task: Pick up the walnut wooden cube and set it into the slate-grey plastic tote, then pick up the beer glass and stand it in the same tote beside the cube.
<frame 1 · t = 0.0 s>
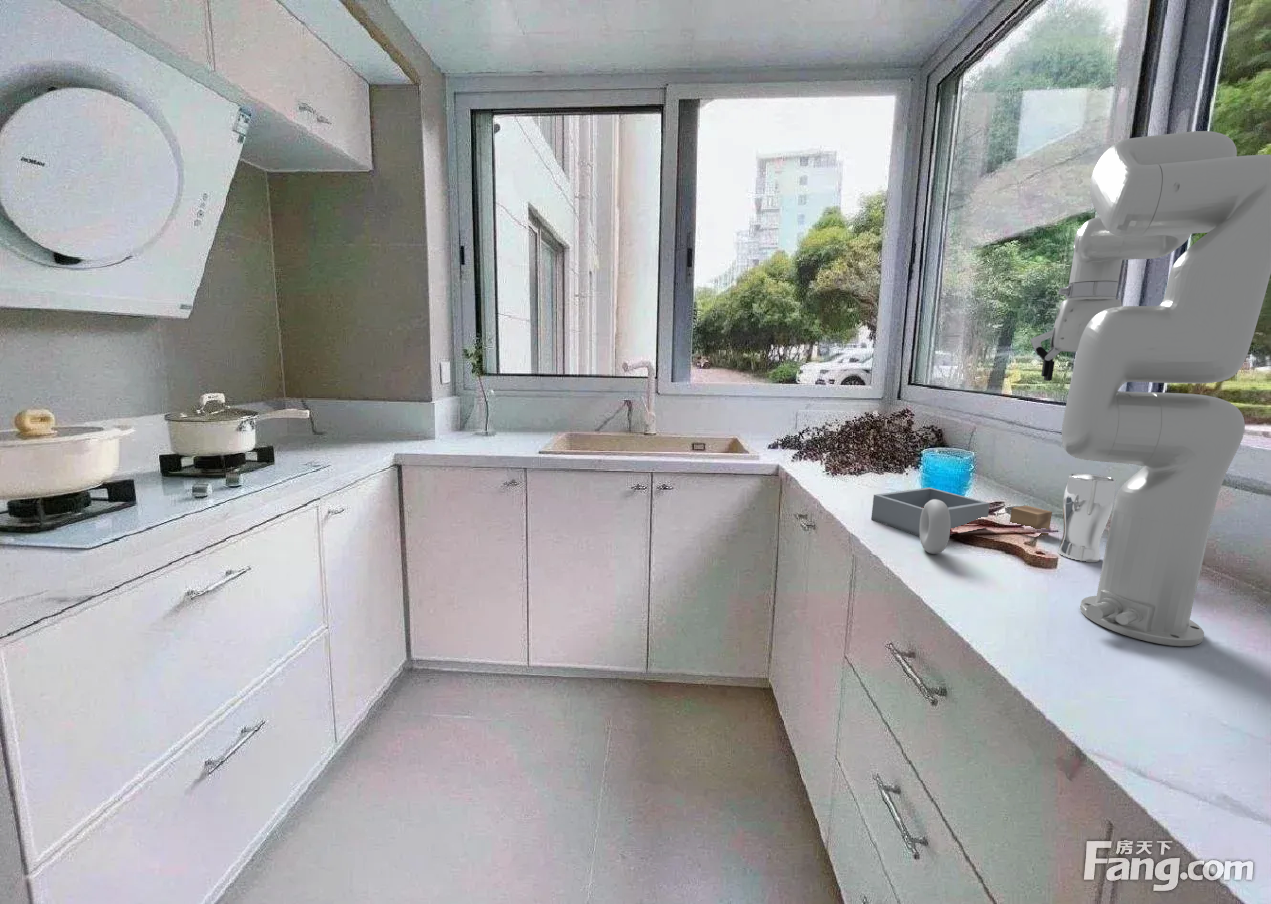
hand: (1076, 381, 111), 31 cm above the countertop, tool pointing down, fingers open, 9 cm apart
walnut cube: (1028, 532, 115), on the countertop
donut: (930, 553, 102), on the countertop
beer glass: (1077, 557, 101), on the countertop
tote: (927, 523, 119), on the countertop
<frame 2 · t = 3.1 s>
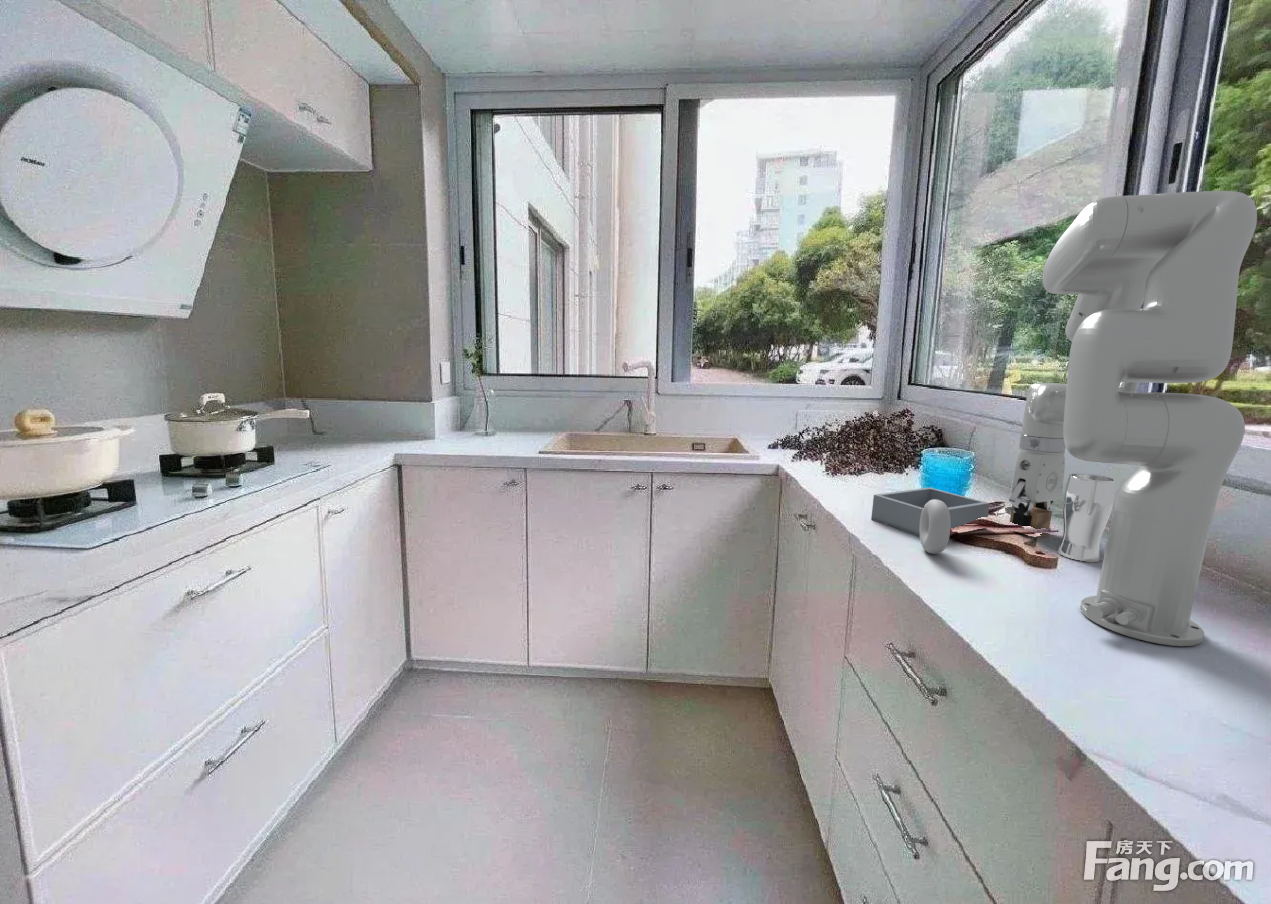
hand: (1028, 530, 115), 0 cm above the countertop, tool pointing down, fingers closed on walnut cube, 5 cm apart
walnut cube: (1028, 532, 115), on the countertop, touching gripper
everything else where it was.
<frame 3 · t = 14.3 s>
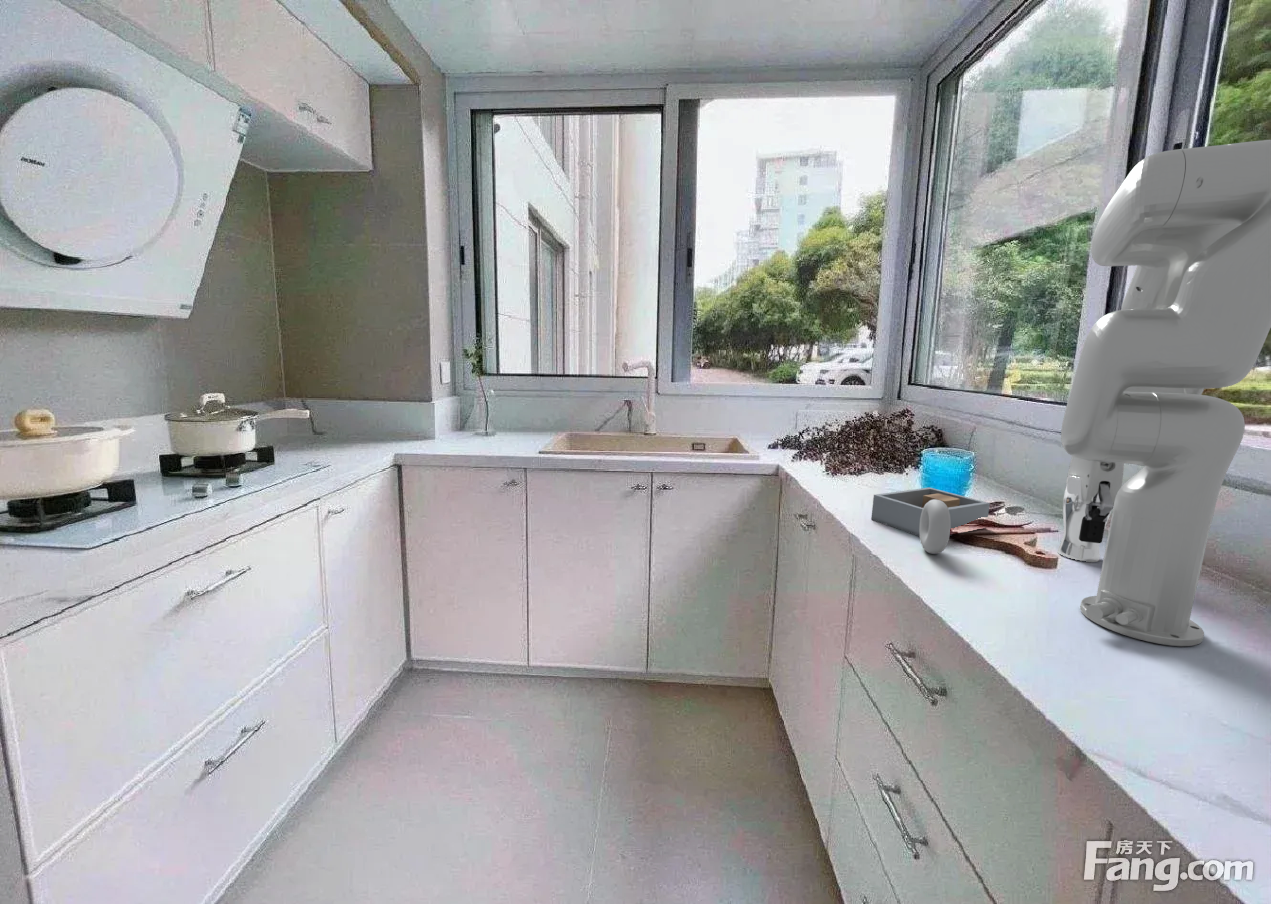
hand: (1081, 534, 101), 4 cm above the countertop, tool pointing down, fingers closed on beer glass, 6 cm apart
walnut cube: (938, 519, 120), point 1 cm above the countertop, touching tote
beer glass: (1077, 557, 101), on the countertop, touching gripper
everything else where it was.
when the fingers open (6 cm above the countertop, at t = 21.4 s): beer glass drops 1 cm, resting on tote.
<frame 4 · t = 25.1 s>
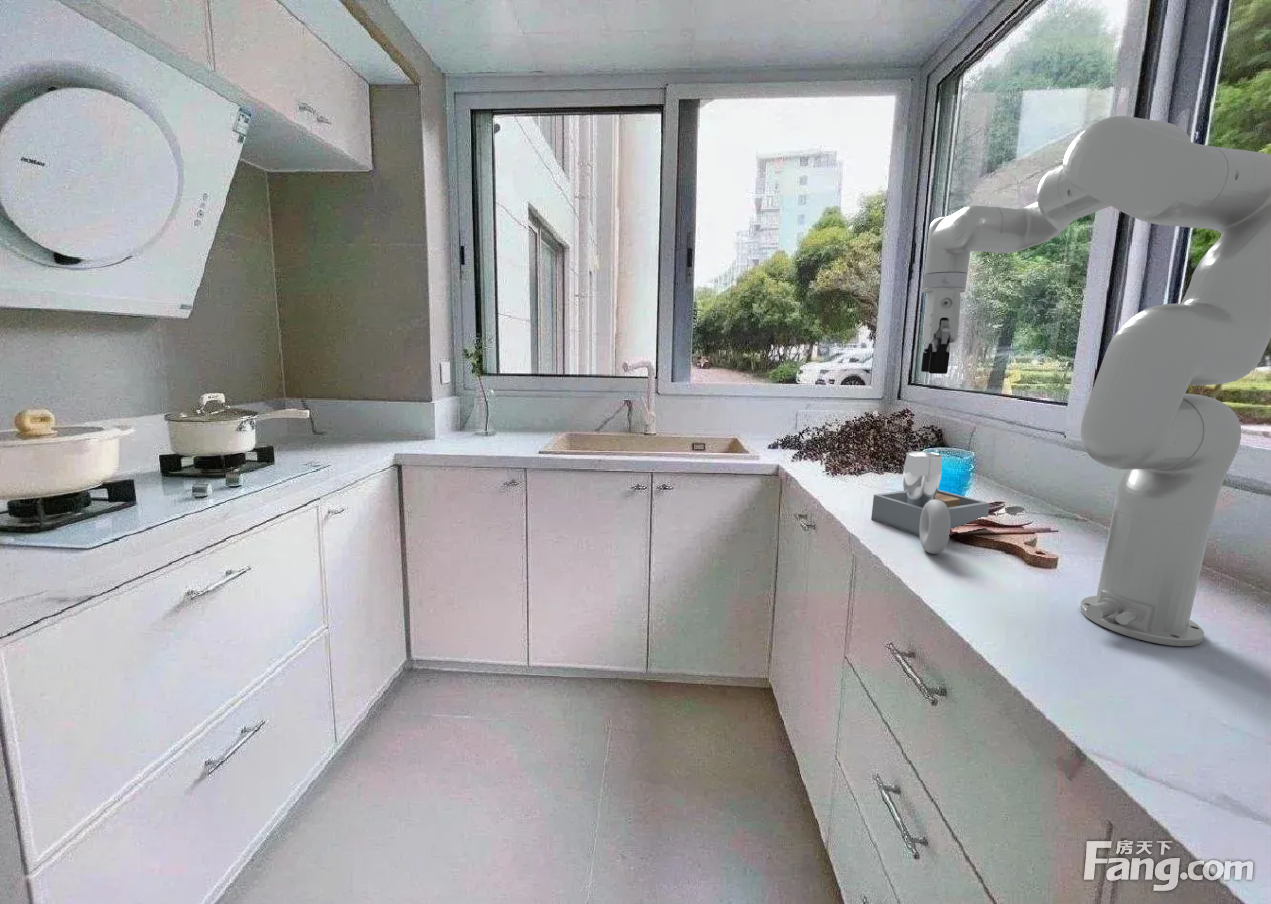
hand: (933, 372, 111), 32 cm above the countertop, tool pointing down, fingers open, 9 cm apart
beer glass: (915, 524, 117), resting on tote
everything else where it was.
at the end: walnut cube inside the target area on the tote (3.5 cm from its centre), point 0.6 cm above the tote's base; beer glass inside the target area on the tote (3.9 cm from its centre), point 0.4 cm above the tote's base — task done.
